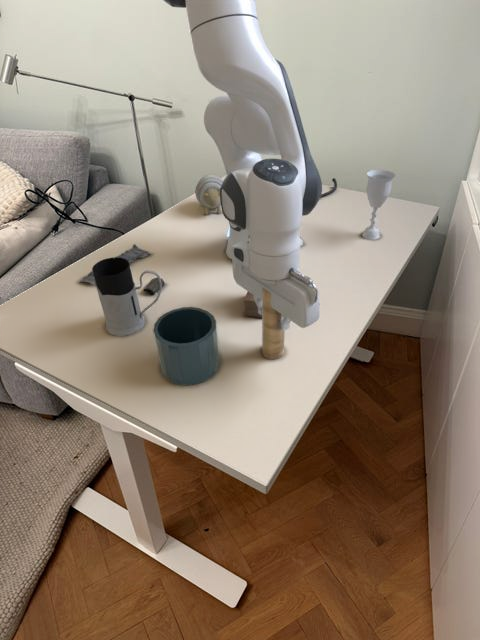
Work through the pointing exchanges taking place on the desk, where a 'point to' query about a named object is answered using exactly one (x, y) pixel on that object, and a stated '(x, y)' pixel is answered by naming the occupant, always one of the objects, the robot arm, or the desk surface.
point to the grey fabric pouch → (127, 255)
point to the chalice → (377, 197)
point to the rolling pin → (271, 329)
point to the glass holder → (120, 296)
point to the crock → (187, 345)
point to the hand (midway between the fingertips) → (273, 320)
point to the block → (153, 286)
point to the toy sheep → (209, 192)
